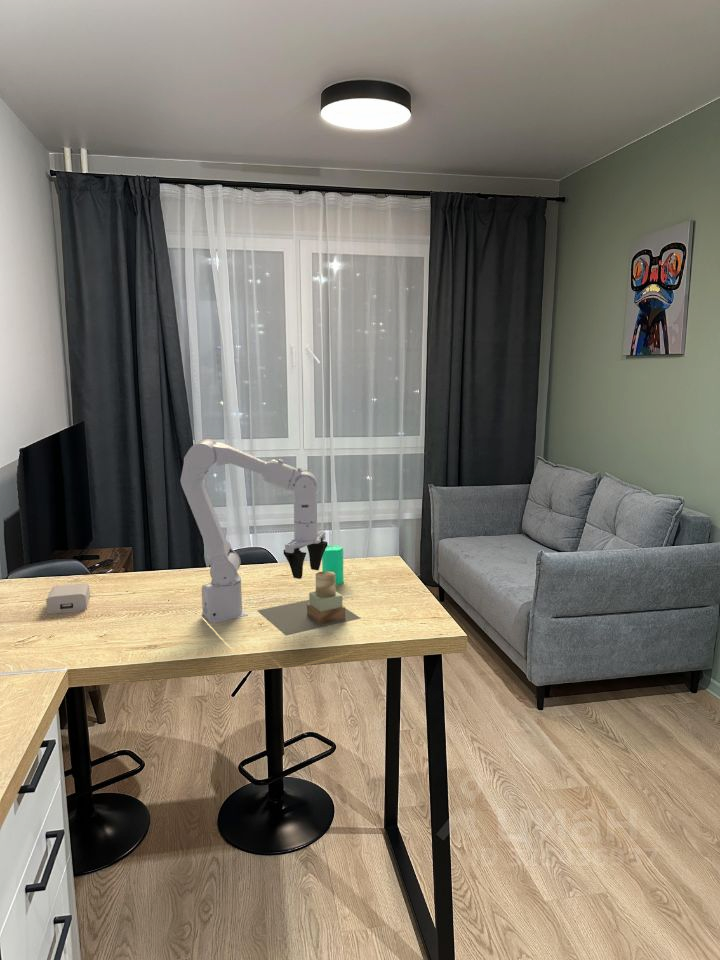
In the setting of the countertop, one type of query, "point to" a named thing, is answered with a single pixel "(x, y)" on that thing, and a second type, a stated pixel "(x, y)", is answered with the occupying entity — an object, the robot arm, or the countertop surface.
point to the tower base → (325, 614)
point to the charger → (68, 598)
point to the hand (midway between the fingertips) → (306, 573)
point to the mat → (297, 618)
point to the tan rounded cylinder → (325, 584)
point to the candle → (333, 562)
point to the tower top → (325, 601)
